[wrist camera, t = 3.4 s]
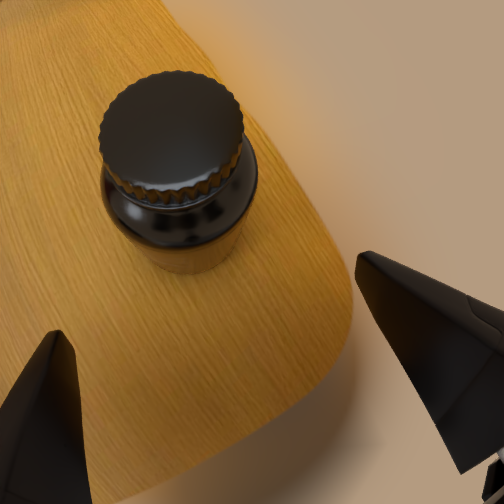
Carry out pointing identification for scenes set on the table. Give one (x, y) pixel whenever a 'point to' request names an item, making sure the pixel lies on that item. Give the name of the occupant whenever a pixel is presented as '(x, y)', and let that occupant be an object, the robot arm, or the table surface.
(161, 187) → the supplement bottle
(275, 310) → the table surface
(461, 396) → the robot arm
